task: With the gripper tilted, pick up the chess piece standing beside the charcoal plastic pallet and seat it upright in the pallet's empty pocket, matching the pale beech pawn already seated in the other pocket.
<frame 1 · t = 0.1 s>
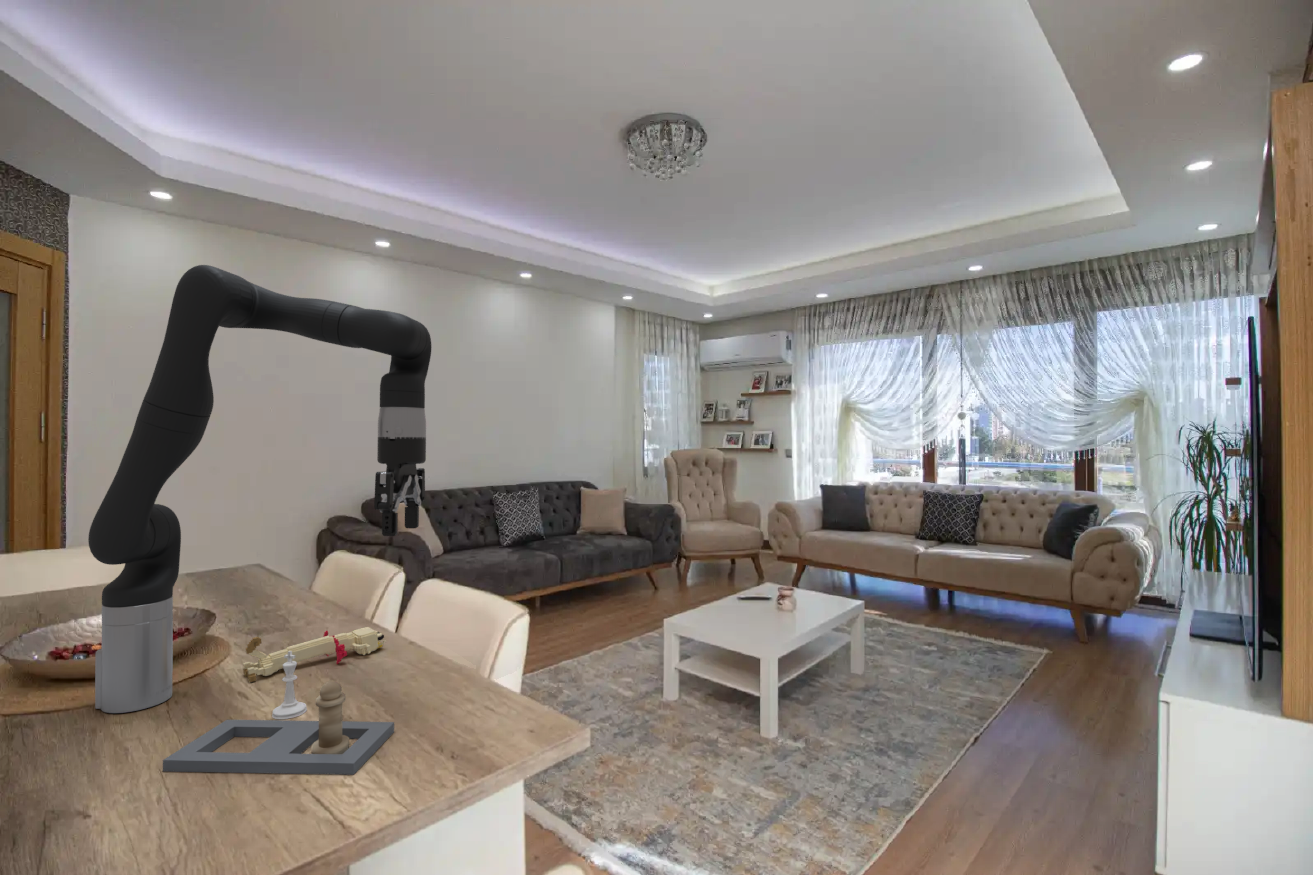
hand: (401, 531, 104), 29 cm above the table, tool pointing down, fingers open, 8 cm apart
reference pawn: (330, 751, 88), resting in pallet
chess piece: (289, 714, 101), on the table
pallet: (285, 750, 89), on the table
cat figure: (320, 664, 124), on the table
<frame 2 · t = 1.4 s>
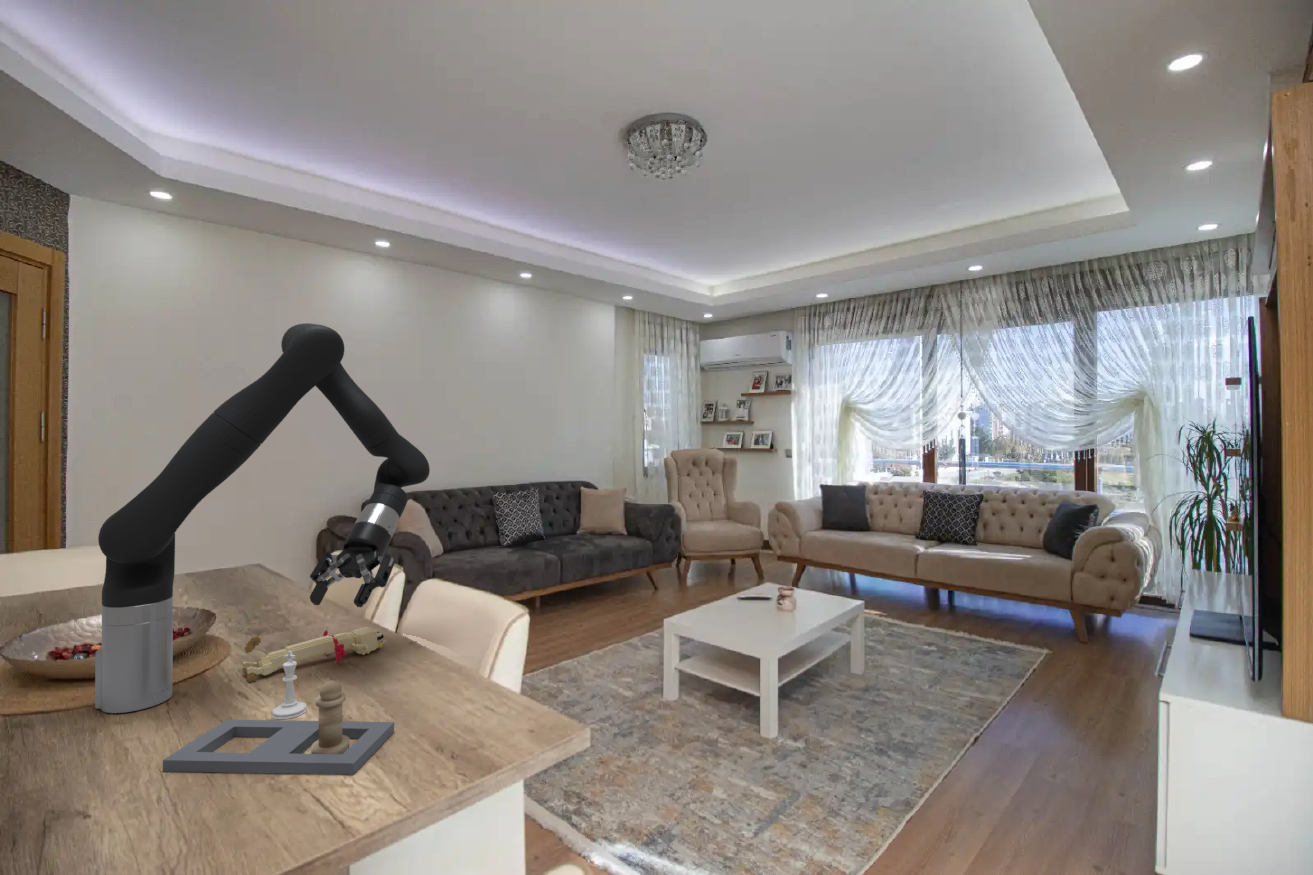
hand: (335, 604, 112), 15 cm above the table, tool tilted 45°, fingers open, 8 cm apart
nothing on the table moved.
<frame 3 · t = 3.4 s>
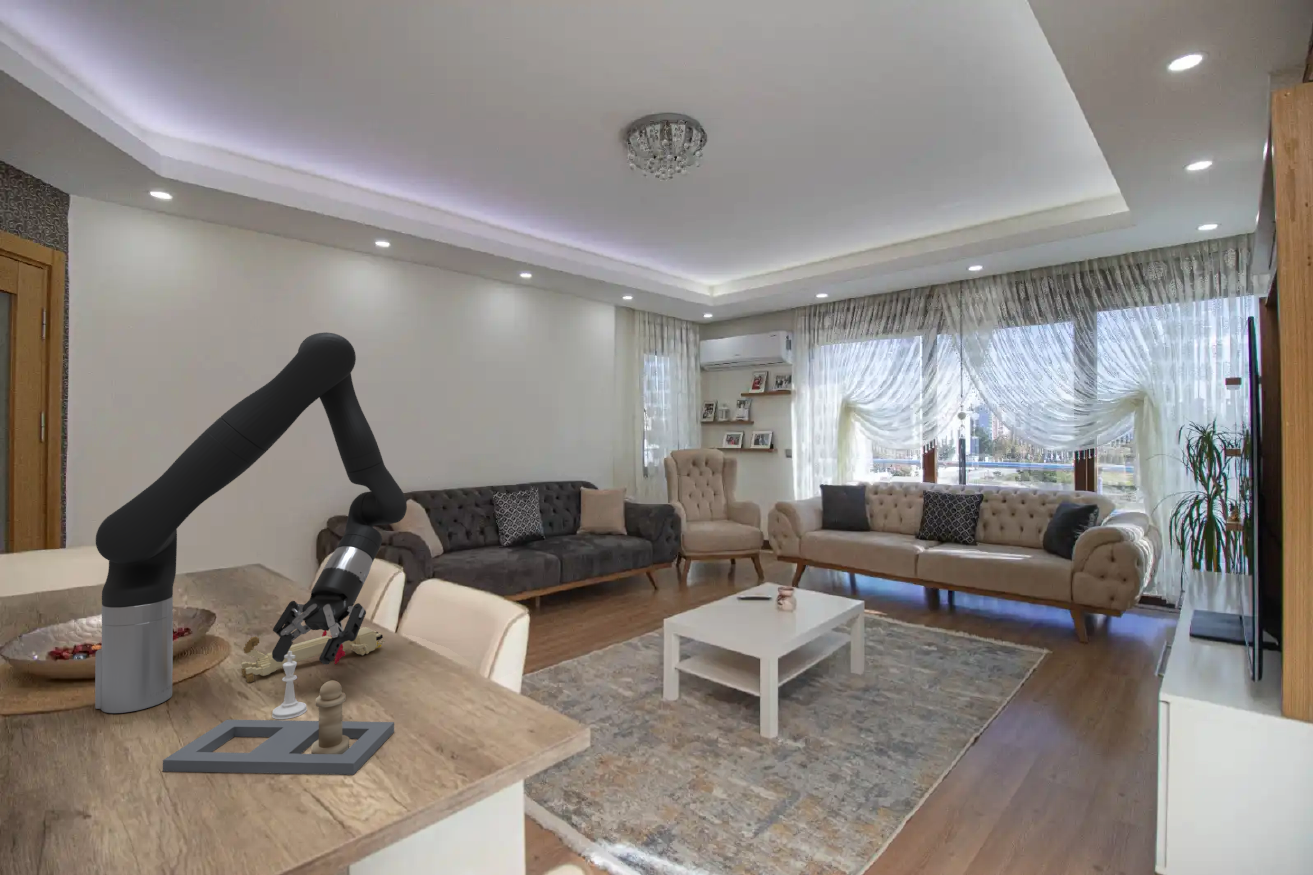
hand: (300, 661, 103), 8 cm above the table, tool tilted 45°, fingers open, 8 cm apart
nothing on the table moved.
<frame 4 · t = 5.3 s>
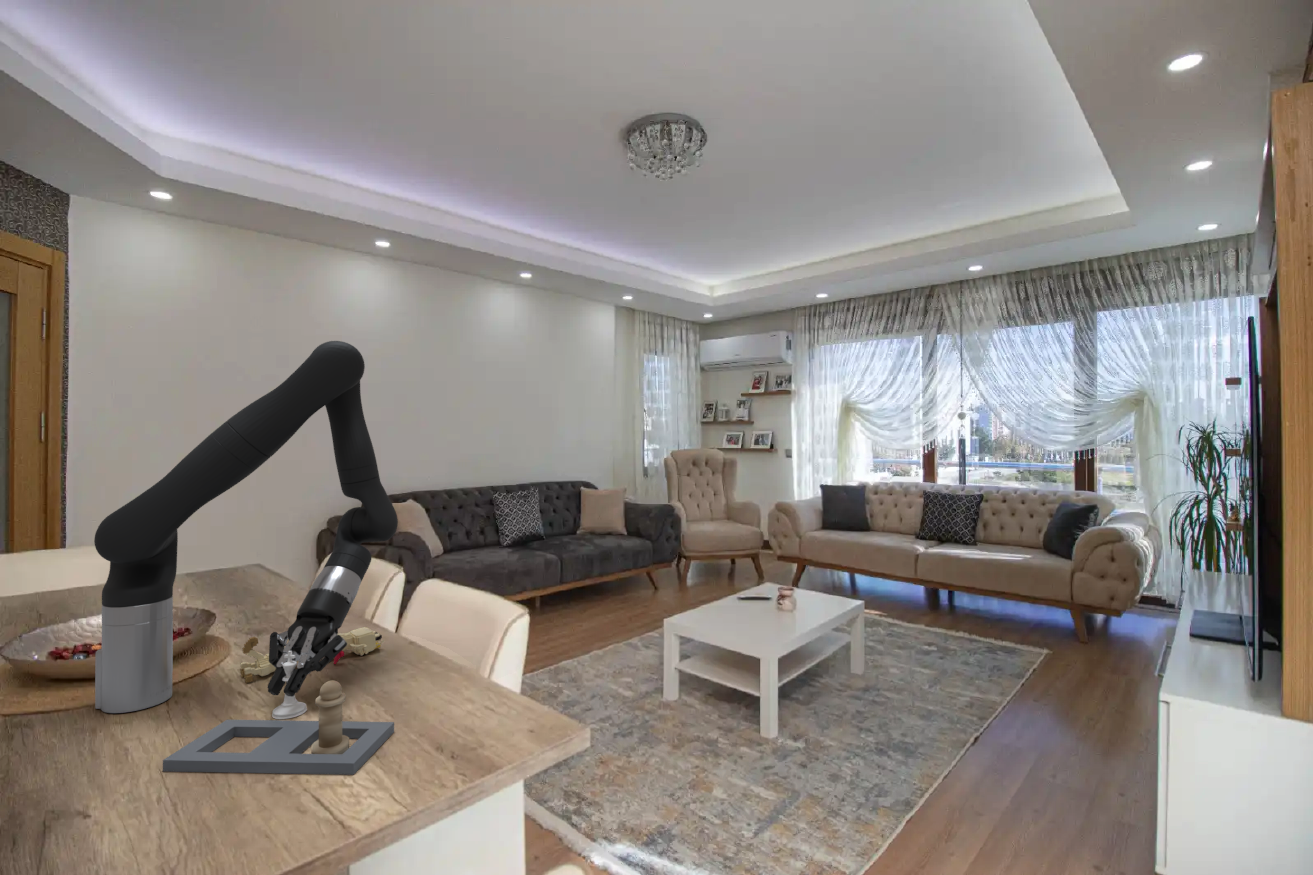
hand: (280, 693, 99), 4 cm above the table, tool tilted 45°, fingers closed on chess piece
chess piece: (289, 713, 101), on the table, touching gripper
everything else where it was.
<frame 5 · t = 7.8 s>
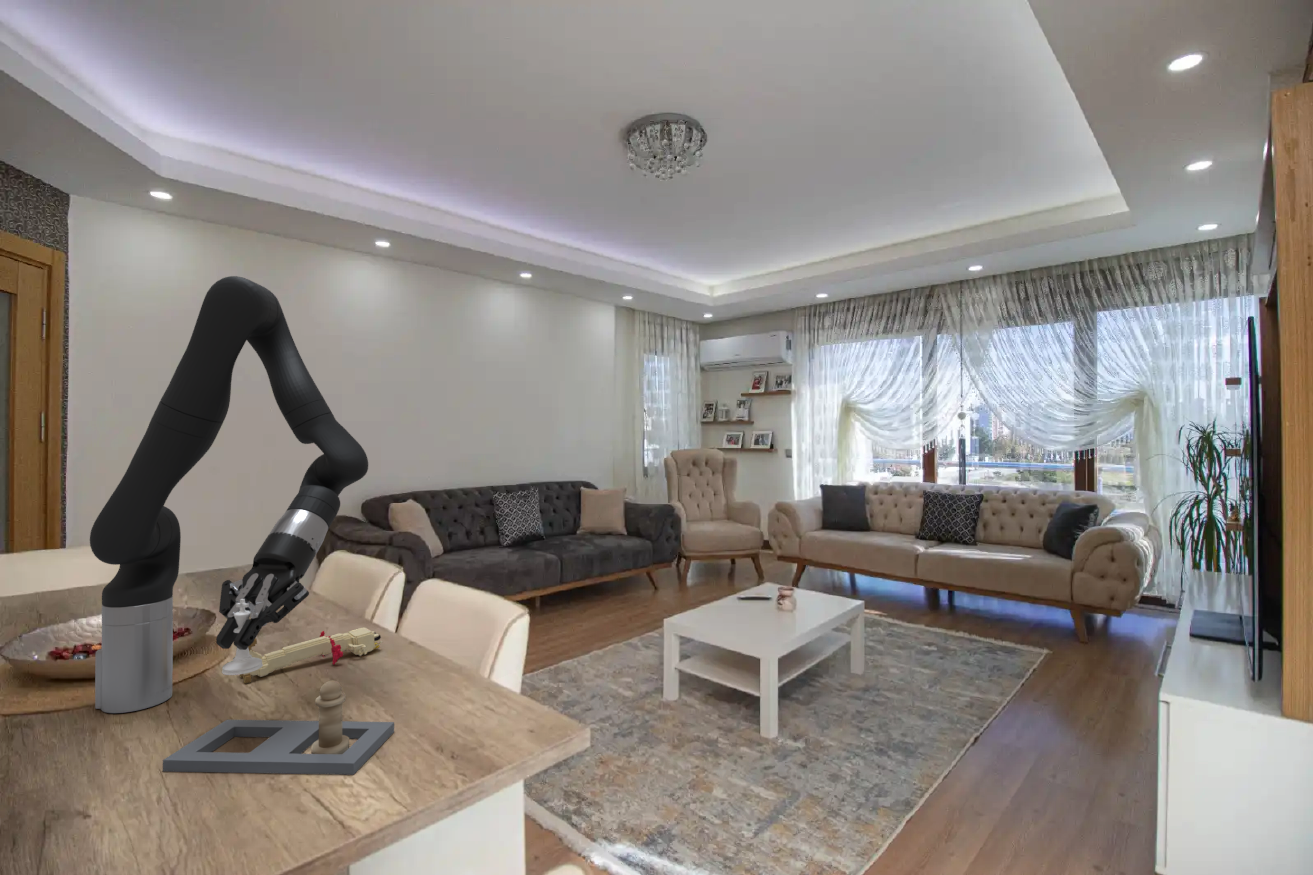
hand: (231, 646, 87), 15 cm above the table, tool tilted 45°, fingers closed on chess piece
chess piece: (242, 670, 89), point 11 cm above the table, touching gripper
everything else where it was.
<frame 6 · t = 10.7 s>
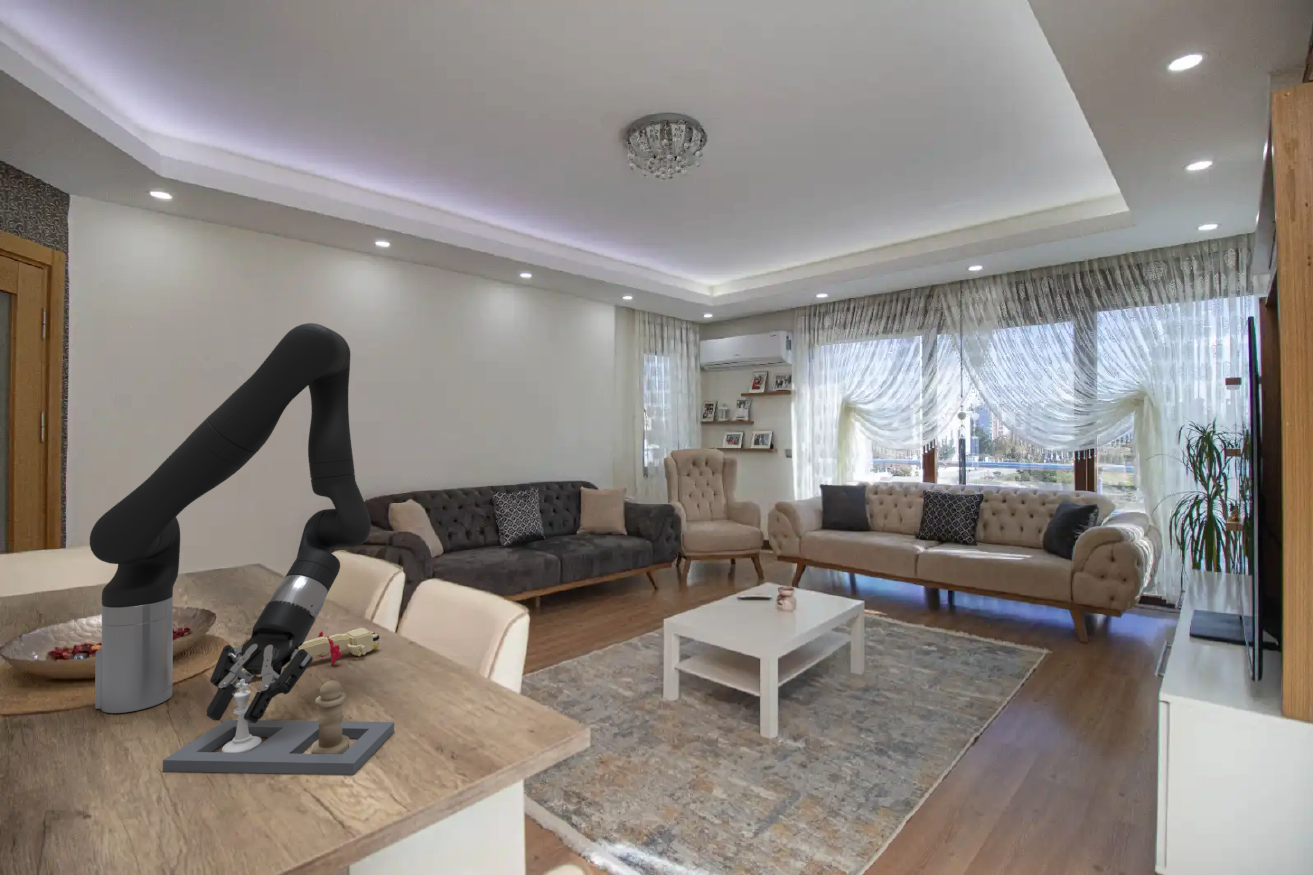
hand: (231, 719, 87), 5 cm above the table, tool tilted 45°, fingers open, 5 cm apart
chess piece: (242, 750, 89), resting in pallet
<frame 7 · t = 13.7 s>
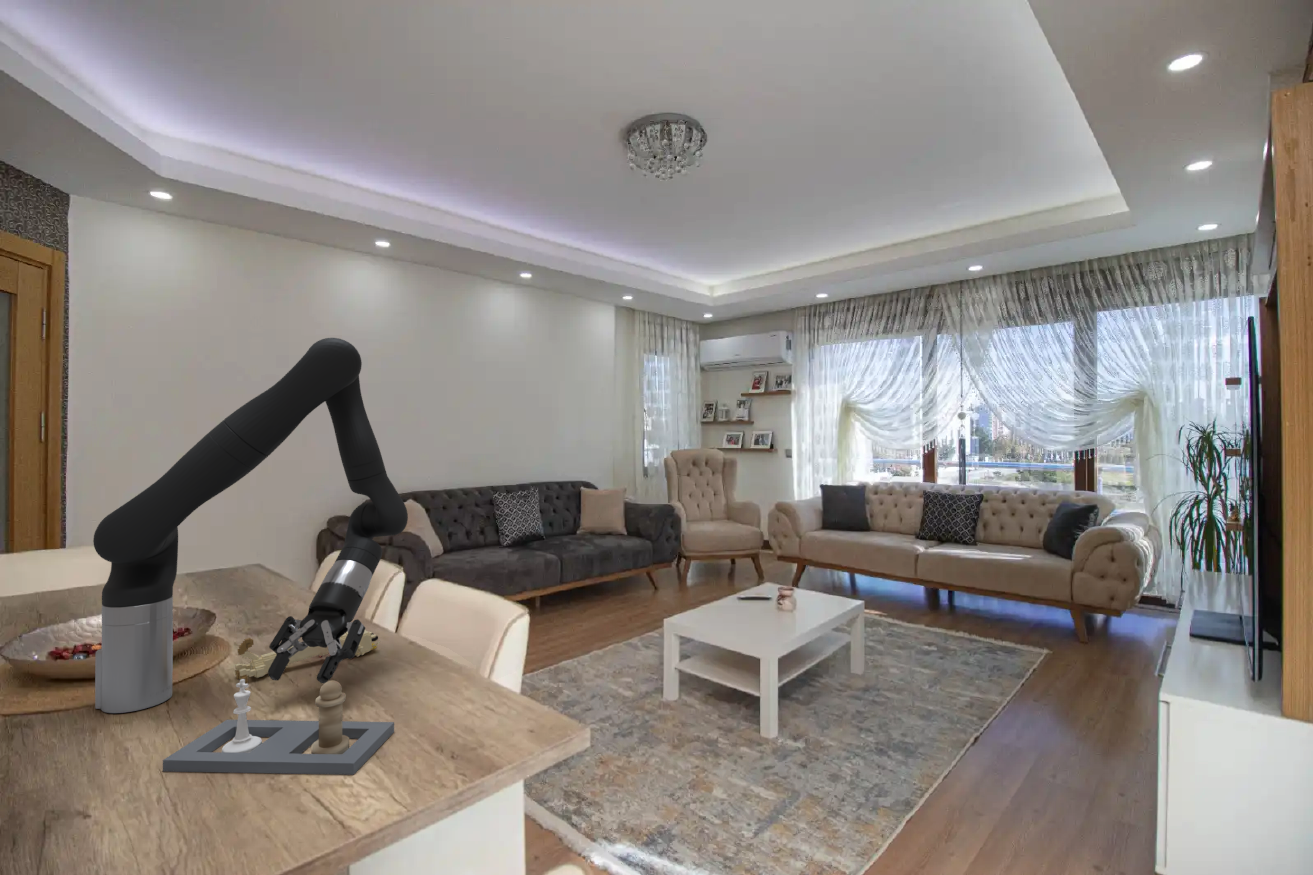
hand: (296, 680, 100), 6 cm above the table, tool tilted 45°, fingers open, 8 cm apart
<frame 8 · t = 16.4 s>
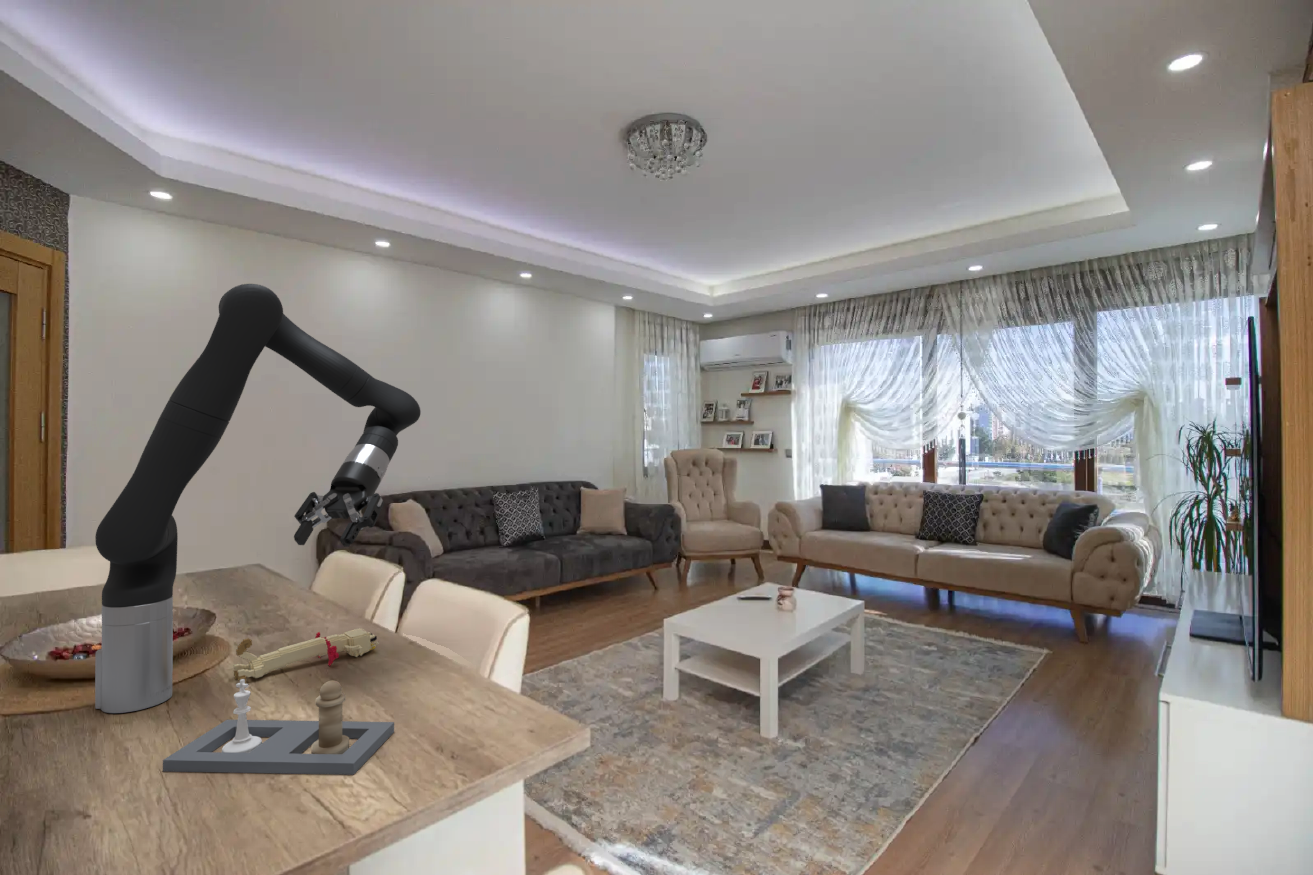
hand: (321, 543, 106), 27 cm above the table, tool tilted 45°, fingers open, 8 cm apart
at the end: chess piece 0.2 cm from the target spot on the pallet, point 0.0 cm above the pallet's base; chess piece tilted 0°; the gripper is holding nothing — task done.
